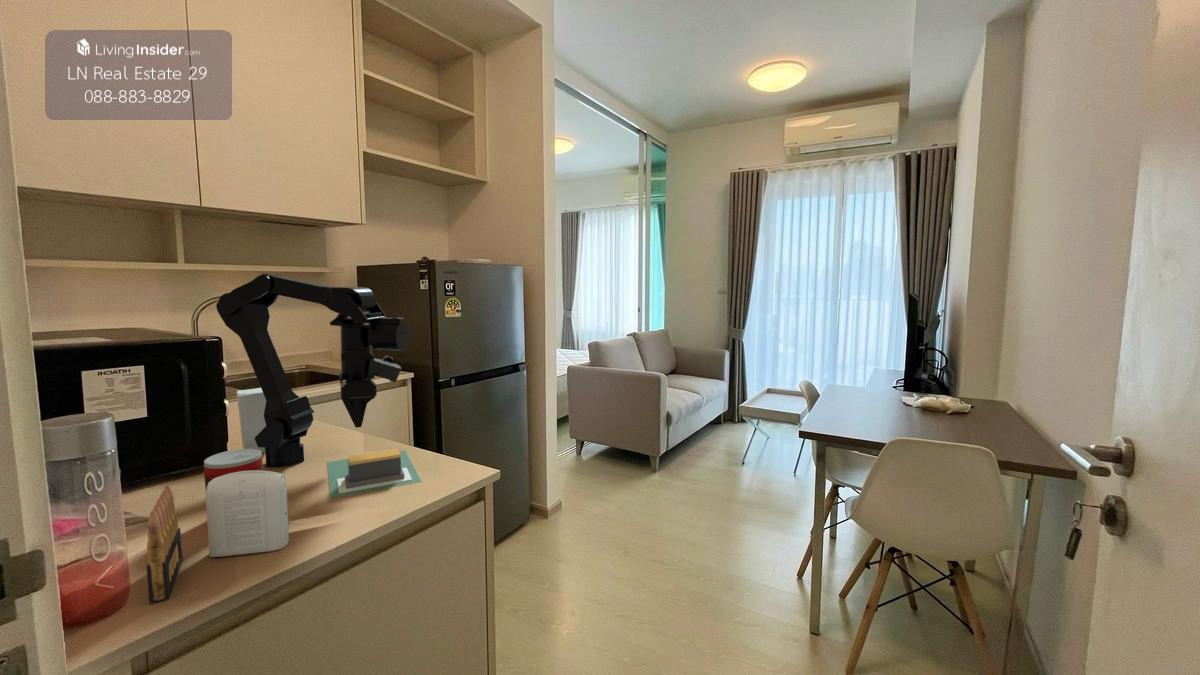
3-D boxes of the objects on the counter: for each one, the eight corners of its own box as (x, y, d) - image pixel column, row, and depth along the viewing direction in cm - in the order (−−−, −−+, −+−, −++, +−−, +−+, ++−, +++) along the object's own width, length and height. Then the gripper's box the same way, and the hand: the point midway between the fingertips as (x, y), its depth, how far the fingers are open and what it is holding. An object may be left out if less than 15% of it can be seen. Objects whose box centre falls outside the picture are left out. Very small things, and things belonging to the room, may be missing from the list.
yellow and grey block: (349, 482, 92) (348, 462, 92) (348, 474, 96) (347, 455, 95) (401, 473, 97) (400, 454, 97) (397, 466, 101) (397, 448, 100)
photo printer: (293, 537, 78) (289, 463, 76) (284, 551, 74) (280, 474, 72) (217, 546, 75) (211, 469, 73) (204, 561, 71) (197, 481, 69)
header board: (330, 506, 88) (329, 476, 88) (327, 468, 105) (326, 443, 105) (421, 488, 97) (421, 461, 96) (405, 456, 114) (404, 433, 113)
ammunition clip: (166, 563, 70) (159, 484, 69) (183, 559, 71) (176, 481, 70) (149, 605, 61) (140, 515, 60) (168, 600, 62) (160, 512, 61)
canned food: (275, 510, 86) (272, 451, 85) (228, 532, 79) (224, 467, 78) (245, 503, 89) (241, 445, 88) (197, 523, 81) (192, 460, 80)
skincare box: (281, 443, 121) (278, 384, 119) (285, 449, 116) (281, 389, 114) (240, 449, 115) (236, 389, 114) (241, 457, 111) (237, 394, 109)
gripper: (403, 353, 96) (404, 429, 98) (393, 341, 112) (393, 406, 114) (340, 355, 90) (341, 436, 92) (338, 342, 107) (340, 410, 108)
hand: (357, 420), depth 102 cm, fingers open, 9 cm apart
